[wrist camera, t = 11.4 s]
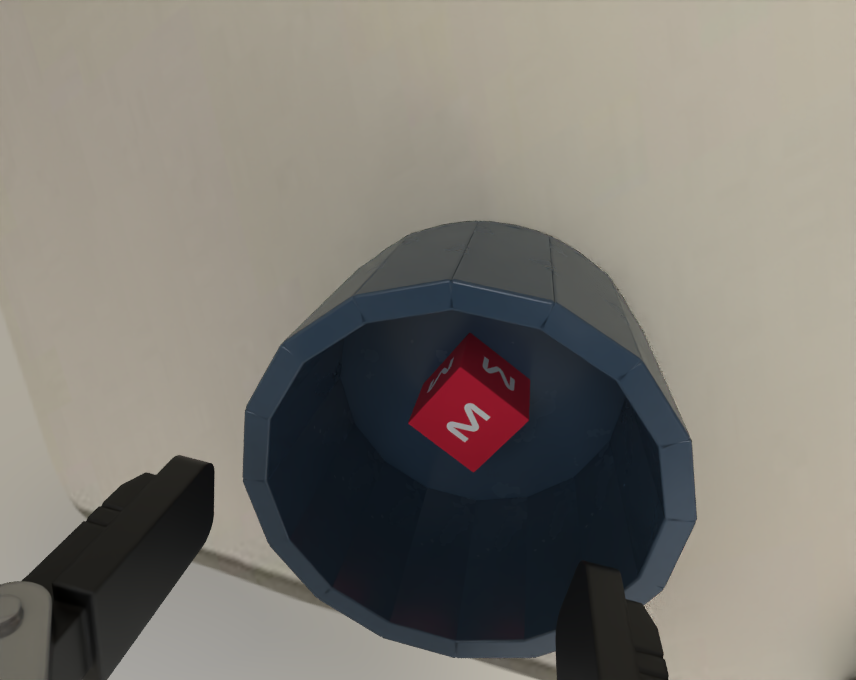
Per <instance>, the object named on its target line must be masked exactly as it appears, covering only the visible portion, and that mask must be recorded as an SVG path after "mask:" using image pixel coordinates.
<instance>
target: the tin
mask: <svg viewBox="0 0 856 680" xmlns="http://www.w3.org/2000/svg"><path fill="white" fill-rule="evenodd" d="M469 333H471V334H473V335H474V336H475V337H476V338H478V339H479V340H480V341H482V342H483V343H484V344H485V345H487V346H488V347H489V348H490V349H492V350H493V351H494V352H496V353H497V354H498V355H499V356H501V357H502V358H503V359H504V360H506V361H507V362H508V363H510V364H511V365H512V366H513V367H515V368H516V369H517V370H518V371H520V372H521V373H522V374H524V375H525V376H526V377H527V378H529V379H530V408H529V421H528V422H527V423H526V424H525V425H524V426H523V427H522V428H521V429H520V430H518V431H517V432H516V433H515V434H514V435H513V436H512V437H511V438H510V439H509V440H508V441H507V442H506V443H505V444H504V445H503V446H502V447H500V448H499V449H498V450H497V451H496V452H495V453H494V454H493V455H492V456H491V457H490V458H489V459H488V460H487V461H486V462H485V463H484V464H482V465H481V466H480V467H479V468H478V469H477V470H476V471H475V472H472V471H471V470H469V469H468V468H467V467H465V466H464V465H463V464H461V463H460V462H459V461H457V460H456V459H455V458H453V457H452V456H451V455H449V454H448V453H447V452H445V451H444V450H443V449H441V448H440V447H439V446H437V445H436V444H435V443H433V442H432V441H431V440H429V439H428V438H427V437H425V436H424V435H423V434H421V433H420V432H419V431H417V430H416V429H415V428H413V427H412V426H411V425H409V424H408V422H409V419H410V417H411V414H412V412H413V409H414V407H415V404H416V402H417V399H418V396H419V394H420V391H421V389H422V386H423V384H424V383H425V382H426V381H427V379H428V378H429V377H430V376H431V375H432V374H433V373H434V372H435V371H436V369H437V368H438V367H439V366H440V365H441V364H442V363H443V362H444V361H445V359H446V358H447V357H448V356H449V355H450V354H451V353H452V352H453V351H454V349H455V348H456V347H457V346H458V345H459V344H460V343H461V342H462V341H463V339H464V338H465V337H466V336H467V335H468V334H469ZM243 483H244V485H245V488H246V490H247V493H248V495H249V497H250V500H251V502H252V505H253V507H254V510H255V512H256V515H257V517H258V520H259V522H260V524H261V527H262V529H263V532H264V534H265V537H266V539H267V542H268V543H269V545H270V547H271V548H272V549H273V550H274V551H275V552H276V553H277V555H278V556H279V557H280V558H281V559H282V560H283V561H284V562H285V563H286V565H287V566H288V567H289V568H290V569H291V570H292V571H293V572H294V573H295V574H296V576H297V577H298V578H299V579H300V580H301V581H302V582H303V583H304V584H305V586H306V587H307V588H308V589H309V590H310V591H311V592H312V593H313V594H314V596H315V597H316V598H318V599H319V600H321V601H322V602H324V603H326V604H327V605H329V606H331V607H332V608H334V609H336V610H337V611H339V612H340V613H342V614H344V615H345V616H347V617H349V618H350V619H352V620H354V621H356V622H357V623H359V624H361V625H362V626H364V627H365V628H367V629H369V630H371V631H372V632H374V633H375V634H377V635H379V636H381V637H383V638H385V639H388V640H392V641H396V642H399V643H403V644H406V645H410V646H413V647H417V648H421V649H424V650H428V651H431V652H435V653H439V654H442V655H446V656H450V657H453V658H455V657H457V658H532V657H533V658H536V657H539V656H542V655H545V654H548V653H552V652H555V651H556V645H555V638H556V626H557V620H558V616H559V612H560V609H561V606H562V604H563V601H564V599H565V596H566V594H567V591H568V589H569V586H570V584H571V581H572V579H573V576H574V574H575V571H576V568H577V566H578V564H579V562H580V561H581V560H584V561H588V562H592V563H596V564H600V565H604V566H607V567H611V568H615V569H618V570H619V571H620V573H621V577H622V582H623V587H624V593H625V598H626V599H628V600H632V601H636V602H639V603H642V604H643V605H645V604H646V603H647V602H649V601H650V600H651V599H652V598H654V597H655V596H656V595H657V594H659V593H660V592H661V591H662V590H663V589H664V587H665V586H666V584H667V582H668V579H669V577H670V575H671V573H672V571H673V569H674V567H675V565H676V563H677V561H678V558H679V556H680V554H681V552H682V550H683V548H684V546H685V544H686V542H687V540H688V538H689V535H690V533H691V531H692V529H693V527H694V525H695V523H696V520H697V512H696V497H695V482H694V467H693V452H692V440H691V438H690V436H689V433H688V431H687V429H686V426H685V424H684V422H683V420H682V417H681V415H680V413H679V411H678V408H677V406H676V404H675V402H674V399H673V397H672V395H671V393H670V390H669V388H668V386H667V384H666V381H665V379H664V377H663V375H662V372H661V370H660V368H659V366H658V363H657V361H656V359H655V357H654V354H653V352H652V350H651V348H650V346H649V343H648V341H647V339H646V337H645V334H644V332H643V330H642V329H641V327H640V325H639V324H638V322H637V320H636V319H635V317H634V315H633V314H632V312H631V310H630V309H629V307H628V305H627V303H626V301H625V299H624V298H623V296H622V295H621V294H620V292H619V291H618V289H617V288H616V286H615V284H614V283H613V281H612V279H611V278H610V277H609V276H608V274H606V273H605V272H603V271H602V270H600V269H599V268H598V267H597V266H596V265H595V264H594V263H592V262H591V261H590V260H589V259H587V258H586V257H585V256H584V255H582V254H581V253H580V252H578V251H577V250H575V249H573V248H572V247H570V246H568V245H566V244H565V243H563V242H561V241H560V240H558V239H555V238H554V237H552V236H548V235H546V234H543V233H541V232H539V231H536V230H532V229H529V228H525V227H521V226H518V225H514V224H506V223H499V222H492V221H466V222H458V223H450V224H444V225H440V226H436V227H433V228H429V229H425V230H422V231H420V232H415V233H411V234H410V235H407V236H405V237H404V238H402V239H401V240H400V241H398V242H396V243H395V244H393V245H391V246H390V247H388V248H386V249H385V250H384V251H382V252H381V253H380V254H379V255H377V256H376V257H375V258H373V259H372V260H370V261H369V262H368V263H366V264H365V265H363V266H362V267H360V268H359V269H358V270H357V271H356V272H355V273H353V274H352V275H351V276H350V277H349V278H348V279H347V280H346V281H345V282H344V283H343V284H342V285H341V286H340V287H339V288H338V289H337V290H336V291H335V292H334V293H333V294H332V295H331V296H330V297H329V298H328V299H327V300H326V301H325V302H324V303H323V304H322V305H321V306H320V307H319V308H317V309H316V310H315V311H314V312H313V313H312V314H311V315H310V316H309V317H308V318H307V319H306V320H305V321H304V322H303V323H302V324H301V325H300V326H299V327H298V328H297V329H296V330H295V331H294V332H293V333H292V334H291V335H290V336H289V337H288V338H287V339H286V340H285V341H284V342H283V343H282V344H281V345H280V347H279V348H278V350H277V352H276V354H275V355H274V357H273V359H272V361H271V363H270V364H269V366H268V368H267V370H266V372H265V373H264V375H263V377H262V379H261V380H260V382H259V384H258V386H257V388H256V389H255V391H254V393H253V395H252V396H251V398H250V400H249V402H248V404H247V406H246V410H245V424H244V453H243Z"/></svg>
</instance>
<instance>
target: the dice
mask: <svg viewBox="0 0 856 680" xmlns="http://www.w3.org/2000/svg"><path fill="white" fill-rule="evenodd" d="M529 408H530V379H529V378H527V377H526V376H525V375H524V374H522V373H521V372H520V371H518V370H517V369H516V368H515V367H513V366H512V365H511V364H510V363H508V362H507V361H506V360H504V359H503V358H502V357H501V356H499V355H498V354H497V353H496V352H494V351H493V350H492V349H490V348H489V347H488V346H487V345H485V344H484V343H483V342H482V341H480V340H479V339H478V338H476V337H475V336H474V335H473V334H471V333H469V334H468V335H467V336H466V337H465V338H464V339H463V341H462V342H461V343H460V344H459V345H458V346H457V347H456V348H455V349H454V351H453V352H452V353H451V354H450V355H449V356H448V357H447V358H446V359H445V361H444V362H443V363H442V364H441V365H440V366H439V367H438V368H437V369H436V371H435V372H434V373H433V374H432V375H431V376H430V377H429V378H428V379H427V381H426V382H425V383H424V384H423V386H422V389H421V391H420V394H419V396H418V399H417V402H416V404H415V407H414V409H413V412H412V414H411V417H410V419H409V422H408V424H409V425H411V426H412V427H413V428H415V429H416V430H417V431H419V432H420V433H421V434H423V435H424V436H425V437H427V438H428V439H429V440H431V441H432V442H433V443H435V444H436V445H437V446H439V447H440V448H441V449H443V450H444V451H445V452H447V453H448V454H449V455H451V456H452V457H453V458H455V459H456V460H457V461H459V462H460V463H461V464H463V465H464V466H465V467H467V468H468V469H469V470H471V471H472V472H475V471H476V470H477V469H478V468H479V467H480V466H481V465H482V464H484V463H485V462H486V461H487V460H488V459H489V458H490V457H491V456H492V455H493V454H494V453H495V452H496V451H497V450H498V449H499V448H500V447H502V446H503V445H504V444H505V443H506V442H507V441H508V440H509V439H510V438H511V437H512V436H513V435H514V434H515V433H516V432H517V431H518V430H520V429H521V428H522V427H523V426H524V425H525V424H526V423H527V422H528V421H529Z"/></svg>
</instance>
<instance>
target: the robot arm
mask: <svg viewBox="0 0 856 680" xmlns="http://www.w3.org/2000/svg"><path fill="white" fill-rule="evenodd" d="M213 517H214V466H213V464H211V463H208V462H204V461H200V460H196V459H192V458H189V457H185V456H181V455H178V456H175V457H174V458H172V459H171V460H170V461H169V462H168V463H167V464H166V466H165V467H164V468H163V469H162V470H161V471H160V472H159V473H158V474H157V475H154V474H150V473H144V474H142V475H140V476H138V477H136V478H134V479H132V480H130V481H128V482H126V483H124V484H122V485H121V486H120V487H119V488H118V489H117V490H116V491H115V492H113V493H112V494H111V495H110V496H109V497H108V498H107V499H106V500H105V501H104V502H103V504H102V506H101V507H98V508H97V509H96V510H95V511H94V512H93V513H92V514H91V515H90V516H89V517H88V519H87V521H86V522H85V521H84V522H82V524H80V525H79V526H78V527H77V528H76V529H75V530H74V531H73V532H72V533H71V534H70V535H69V536H68V537H67V538H66V539H65V540H64V541H63V542H62V543H61V544H60V545H59V546H58V547H57V548H56V549H55V550H53V551H52V552H51V553H50V554H49V555H48V556H47V557H46V558H45V559H44V560H43V561H42V562H41V563H40V564H39V565H38V566H37V567H36V568H35V569H34V570H33V571H32V572H31V573H30V574H29V575H28V576H26V577H25V578H24V579H23V580H22V581H17V582H9V583H4V584H0V680H107V679H108V678H109V676H110V675H111V673H112V672H113V671H114V669H115V668H116V666H117V665H118V664H119V662H120V661H121V659H122V658H123V657H124V655H125V654H126V653H127V651H128V650H129V648H130V647H131V645H132V644H133V643H134V641H135V640H136V639H137V637H138V636H139V634H140V633H141V631H142V630H143V629H144V627H145V626H146V625H147V623H148V622H149V620H150V619H151V618H152V616H153V615H154V614H155V612H156V611H157V609H158V608H159V607H160V605H161V604H162V602H163V601H164V600H165V598H166V597H167V595H168V594H169V593H170V591H171V590H172V588H173V587H174V586H175V584H176V583H177V581H178V580H179V579H180V577H181V576H182V574H183V573H184V571H185V570H186V569H187V567H188V566H189V565H190V563H191V562H192V561H193V559H194V558H195V556H196V555H197V554H198V552H199V551H200V549H201V548H202V547H203V545H204V543H205V542H206V540H207V538H208V535H209V533H210V530H211V527H212V523H213ZM555 645H556V667H557V680H668V676H669V675H668V671H667V666H666V662H665V659H663V655H664V654H663V649H662V645H661V641H660V637H659V633H658V628H657V627H656V625H655V623H654V622H653V620H652V619H651V617H650V615H649V614H648V612H647V611H646V609H645V607H644V606H643V604H642V603H639V602H636V601H632V600H628V599H626V598H625V593H624V587H623V582H622V577H621V573H620V571H619V570H618V569H615V568H611V567H607V566H604V565H600V564H596V563H592V562H588V561H584V560H581V561H580V562H579V564H578V566H577V568H576V571H575V574H574V576H573V579H572V581H571V584H570V586H569V589H568V591H567V594H566V596H565V599H564V601H563V604H562V606H561V609H560V612H559V616H558V620H557V626H556V638H555Z"/></svg>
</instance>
